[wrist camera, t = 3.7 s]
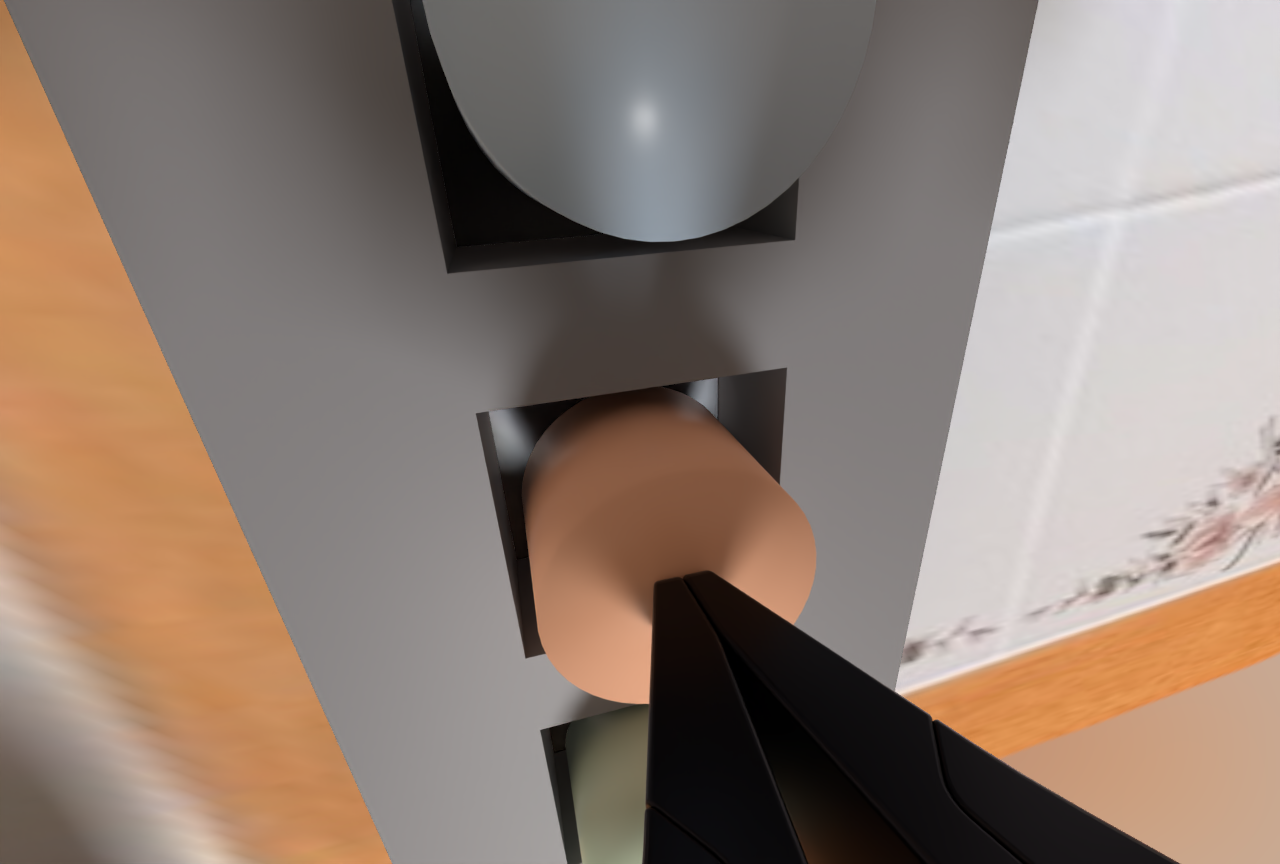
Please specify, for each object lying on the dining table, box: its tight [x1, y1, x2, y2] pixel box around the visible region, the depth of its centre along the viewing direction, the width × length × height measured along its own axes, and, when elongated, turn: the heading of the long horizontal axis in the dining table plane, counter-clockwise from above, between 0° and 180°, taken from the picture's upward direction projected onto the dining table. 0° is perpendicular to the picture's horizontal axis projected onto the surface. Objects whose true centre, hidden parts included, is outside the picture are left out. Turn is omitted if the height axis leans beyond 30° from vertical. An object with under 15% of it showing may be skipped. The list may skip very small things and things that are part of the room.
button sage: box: [566, 704, 649, 864], centre depth 12 cm, size 4×4×3 cm
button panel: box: [4, 0, 1038, 864], centre depth 11 cm, size 22×12×3 cm, turn 4°
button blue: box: [422, 0, 876, 242], centre depth 6 cm, size 4×4×3 cm
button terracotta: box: [522, 387, 816, 704], centre depth 9 cm, size 4×4×3 cm
